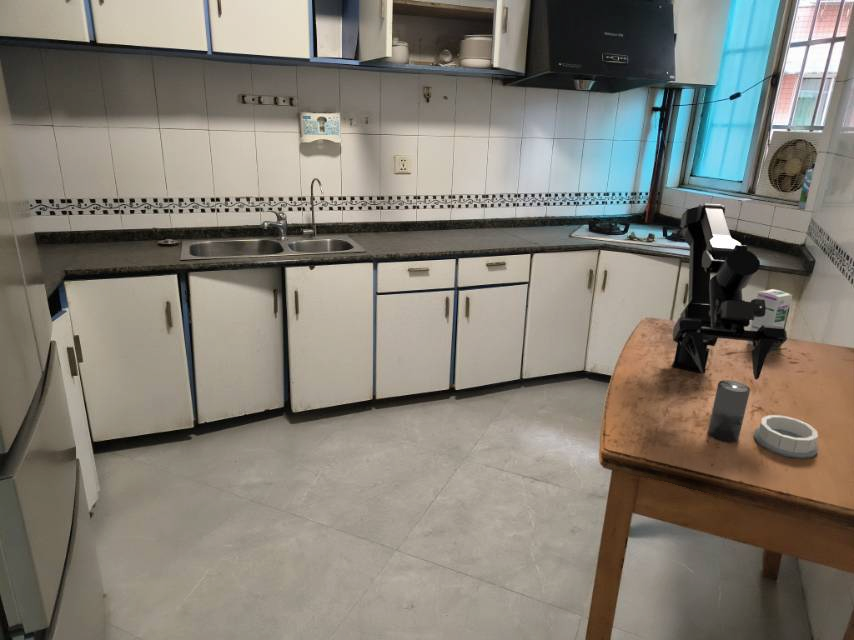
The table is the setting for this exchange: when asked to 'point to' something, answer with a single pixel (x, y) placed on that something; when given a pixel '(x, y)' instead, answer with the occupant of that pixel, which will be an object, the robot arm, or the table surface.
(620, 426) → the table surface
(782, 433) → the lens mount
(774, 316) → the syrup box
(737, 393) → the lens
